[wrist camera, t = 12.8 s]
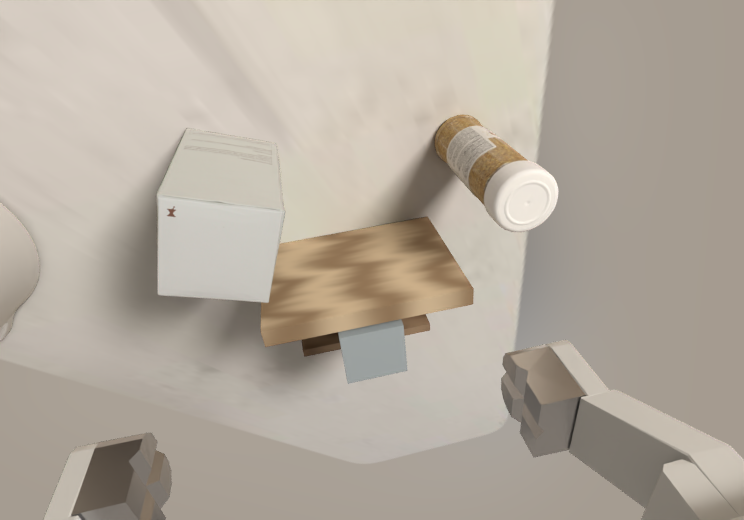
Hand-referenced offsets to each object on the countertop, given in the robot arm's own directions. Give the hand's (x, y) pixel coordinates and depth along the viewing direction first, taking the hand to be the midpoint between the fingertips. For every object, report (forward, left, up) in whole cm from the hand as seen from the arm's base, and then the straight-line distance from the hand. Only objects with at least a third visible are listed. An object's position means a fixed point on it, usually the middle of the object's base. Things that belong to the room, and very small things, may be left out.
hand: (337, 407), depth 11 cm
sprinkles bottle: (+14, -6, -31) cm, 35 cm away
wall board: (+3, -17, -31) cm, 36 cm away
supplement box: (-6, -6, -31) cm, 32 cm away
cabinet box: (+3, -18, -26) cm, 32 cm away
